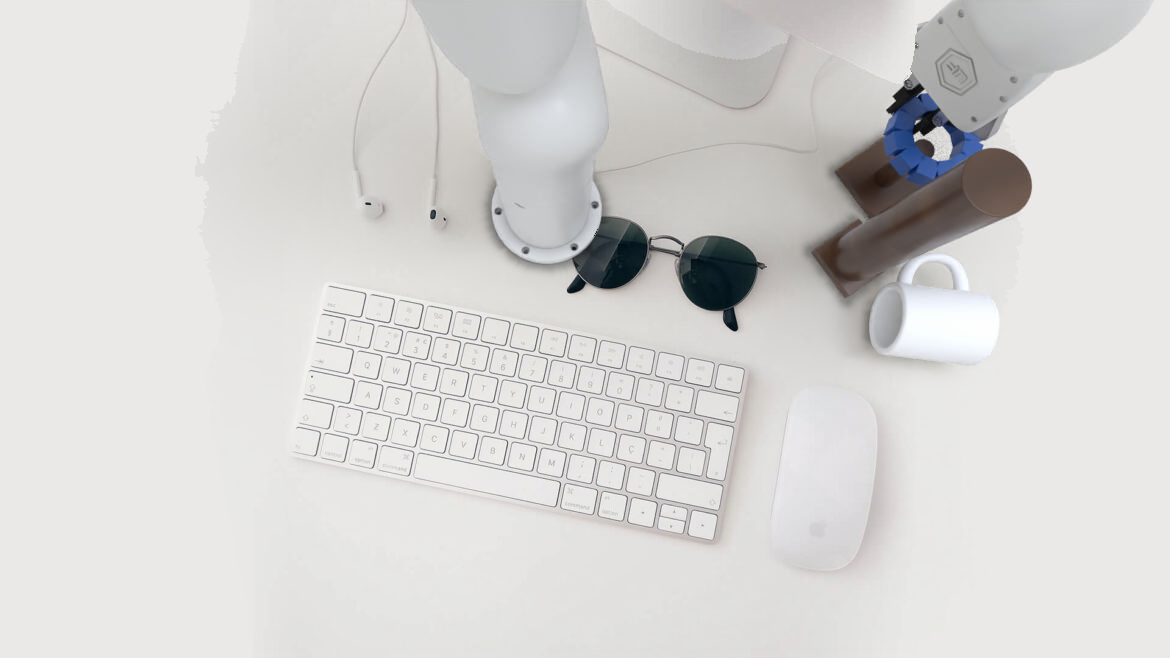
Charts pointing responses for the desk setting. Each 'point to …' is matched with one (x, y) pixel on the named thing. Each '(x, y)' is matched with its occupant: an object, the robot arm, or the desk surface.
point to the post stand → (878, 177)
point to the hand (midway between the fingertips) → (908, 116)
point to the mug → (934, 318)
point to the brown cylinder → (928, 218)
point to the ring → (909, 154)
